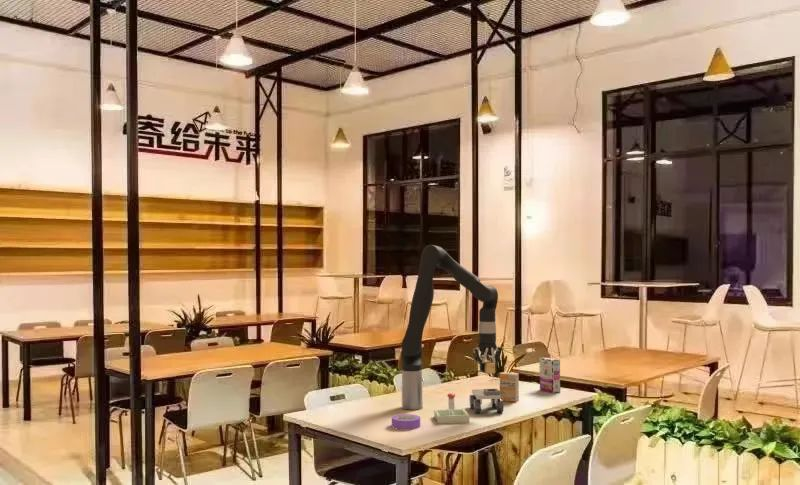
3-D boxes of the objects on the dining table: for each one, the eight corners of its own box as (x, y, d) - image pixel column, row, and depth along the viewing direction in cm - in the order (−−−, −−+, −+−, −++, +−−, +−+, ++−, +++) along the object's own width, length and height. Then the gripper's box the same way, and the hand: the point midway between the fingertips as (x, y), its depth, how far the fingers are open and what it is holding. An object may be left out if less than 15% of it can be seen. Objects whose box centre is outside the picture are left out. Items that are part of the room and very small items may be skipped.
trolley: (476, 414, 293) (476, 392, 293) (469, 406, 309) (469, 385, 309) (503, 413, 294) (503, 392, 294) (495, 406, 310) (495, 385, 310)
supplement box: (499, 401, 320) (498, 373, 321) (502, 399, 325) (502, 371, 325) (516, 402, 316) (515, 374, 317) (519, 400, 321) (518, 372, 321)
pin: (448, 418, 283) (448, 395, 283) (447, 416, 286) (446, 393, 287) (456, 418, 283) (455, 395, 284) (454, 416, 287) (454, 393, 287)
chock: (480, 371, 295) (480, 361, 296) (488, 370, 297) (488, 360, 297) (487, 373, 290) (487, 363, 290) (495, 373, 291) (495, 362, 292)
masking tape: (426, 426, 275) (426, 416, 276) (406, 431, 267) (406, 422, 267) (405, 421, 283) (405, 412, 284) (385, 427, 275) (385, 417, 275)
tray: (438, 423, 278) (438, 416, 278) (434, 416, 290) (434, 409, 290) (469, 422, 279) (469, 415, 279) (464, 415, 291) (464, 408, 291)
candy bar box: (561, 392, 339) (560, 359, 339) (553, 393, 336) (552, 360, 337) (547, 388, 349) (546, 356, 349) (539, 389, 347) (538, 357, 347)
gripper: (497, 330, 300) (497, 369, 300) (468, 331, 295) (468, 371, 294) (505, 331, 293) (506, 371, 293) (477, 333, 288) (477, 373, 287)
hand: (487, 371), depth 294 cm, fingers closed on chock, 4 cm apart
